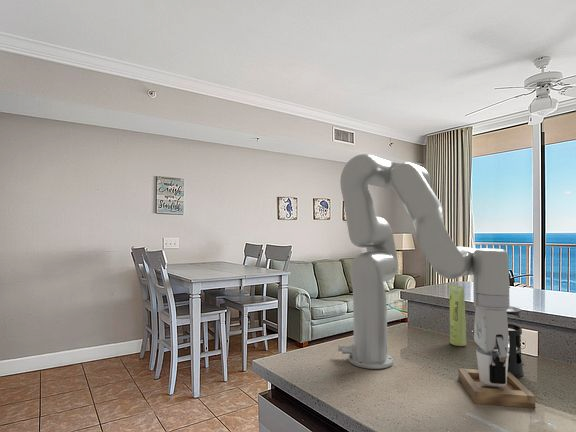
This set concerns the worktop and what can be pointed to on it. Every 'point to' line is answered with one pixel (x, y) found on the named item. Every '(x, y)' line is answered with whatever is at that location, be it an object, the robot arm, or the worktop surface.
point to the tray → (496, 390)
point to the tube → (457, 316)
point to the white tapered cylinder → (487, 366)
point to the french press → (515, 346)
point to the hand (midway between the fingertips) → (492, 376)
